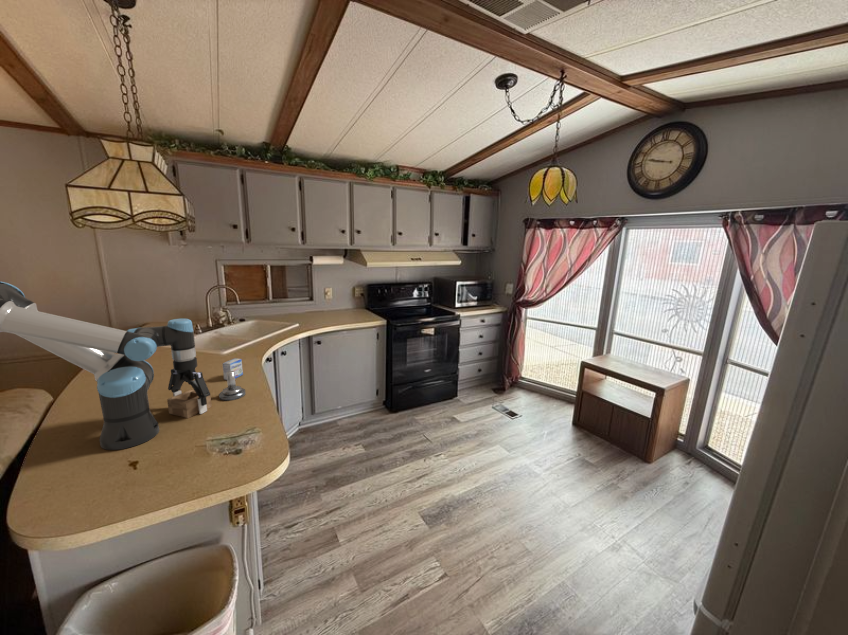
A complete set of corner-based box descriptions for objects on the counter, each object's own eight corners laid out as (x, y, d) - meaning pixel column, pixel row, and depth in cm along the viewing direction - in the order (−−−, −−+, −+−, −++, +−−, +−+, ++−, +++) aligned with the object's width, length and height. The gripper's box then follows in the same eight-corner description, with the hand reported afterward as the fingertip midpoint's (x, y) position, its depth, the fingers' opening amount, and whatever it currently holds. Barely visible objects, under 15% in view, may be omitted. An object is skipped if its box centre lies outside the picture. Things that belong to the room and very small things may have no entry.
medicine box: (231, 380, 162) (230, 363, 160) (223, 379, 163) (222, 363, 161) (243, 374, 170) (241, 358, 168) (235, 374, 171) (234, 358, 169)
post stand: (231, 402, 140) (229, 377, 138) (213, 398, 143) (211, 374, 141) (250, 392, 149) (248, 369, 147) (233, 389, 152) (231, 366, 150)
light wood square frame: (187, 418, 126) (186, 403, 125) (169, 413, 129) (167, 399, 128) (211, 406, 136) (210, 393, 135) (193, 402, 139) (192, 389, 138)
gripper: (217, 359, 128) (222, 410, 132) (171, 351, 135) (178, 400, 140) (199, 365, 121) (205, 419, 125) (152, 357, 128) (159, 408, 133)
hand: (191, 409), depth 133 cm, fingers open, 12 cm apart
